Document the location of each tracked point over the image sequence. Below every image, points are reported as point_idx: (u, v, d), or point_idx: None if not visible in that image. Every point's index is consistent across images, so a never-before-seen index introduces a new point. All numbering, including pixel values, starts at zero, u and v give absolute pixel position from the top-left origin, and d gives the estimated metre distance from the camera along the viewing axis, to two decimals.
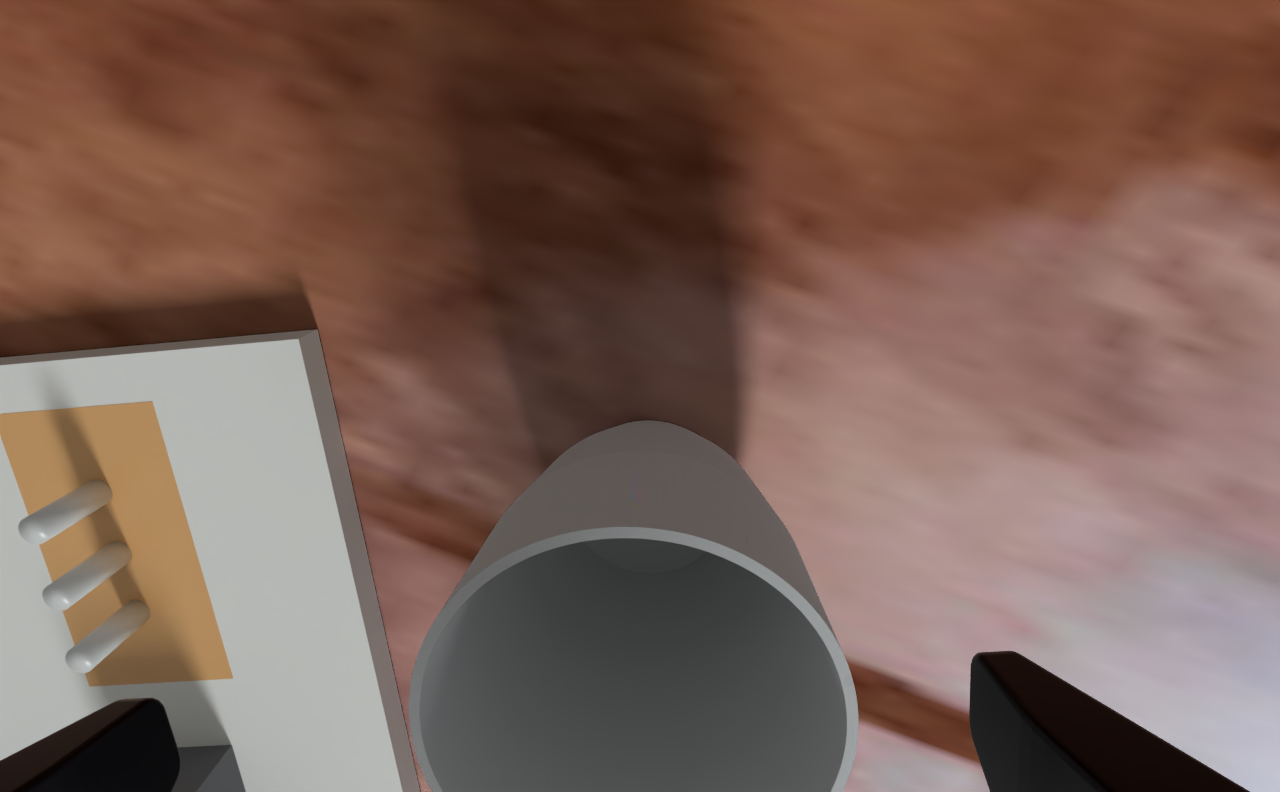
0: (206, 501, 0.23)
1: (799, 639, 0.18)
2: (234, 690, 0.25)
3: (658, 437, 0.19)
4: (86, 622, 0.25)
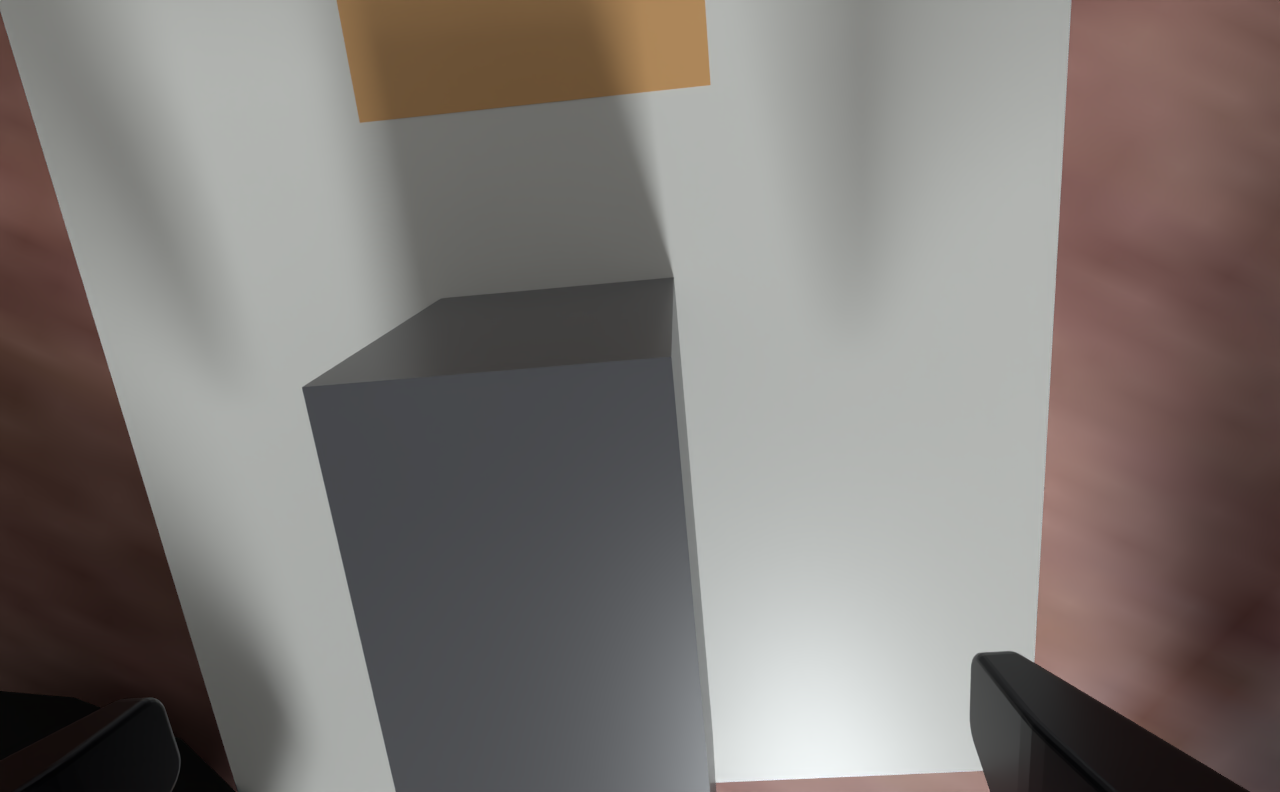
0: None
1: None
2: (707, 120, 0.11)
3: None
4: None
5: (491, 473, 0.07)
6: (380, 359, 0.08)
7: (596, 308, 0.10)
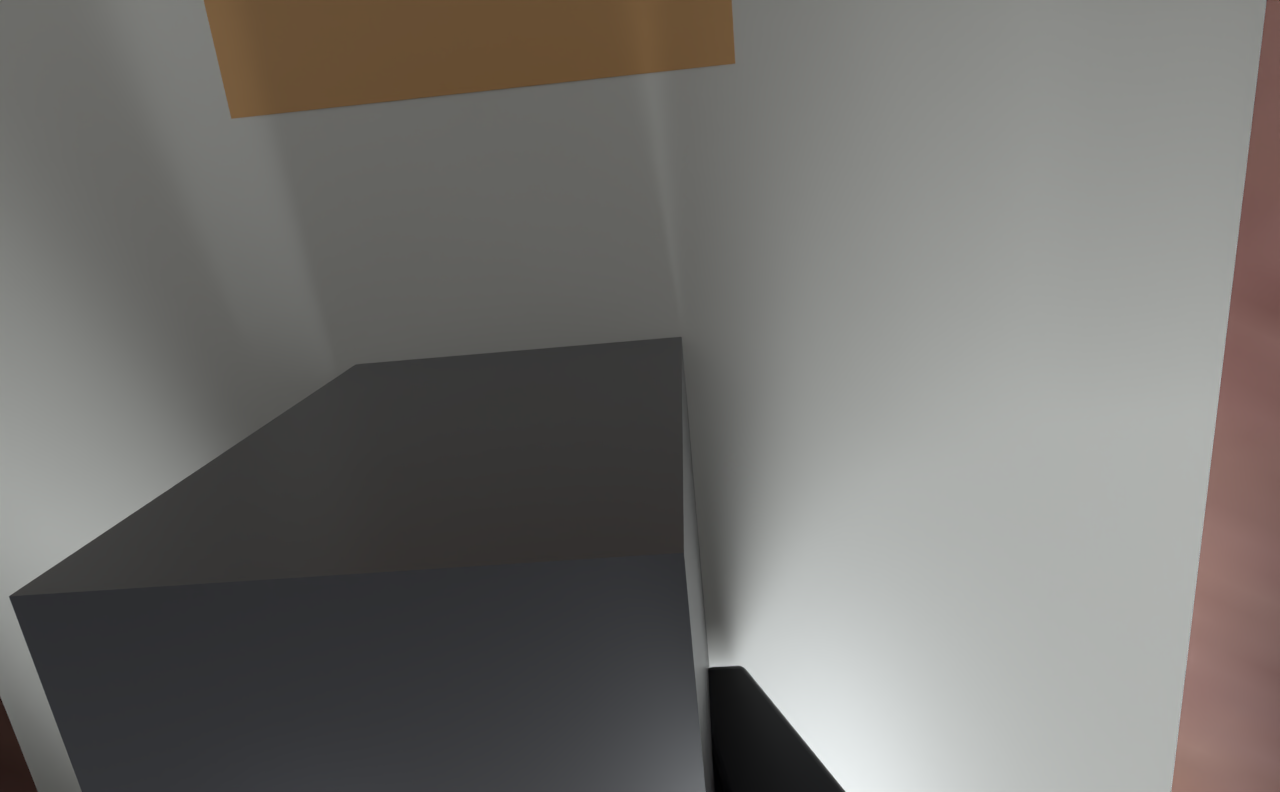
0: None
1: None
2: (730, 115, 0.07)
3: None
4: None
5: (359, 742, 0.04)
6: (189, 515, 0.05)
7: (565, 400, 0.06)
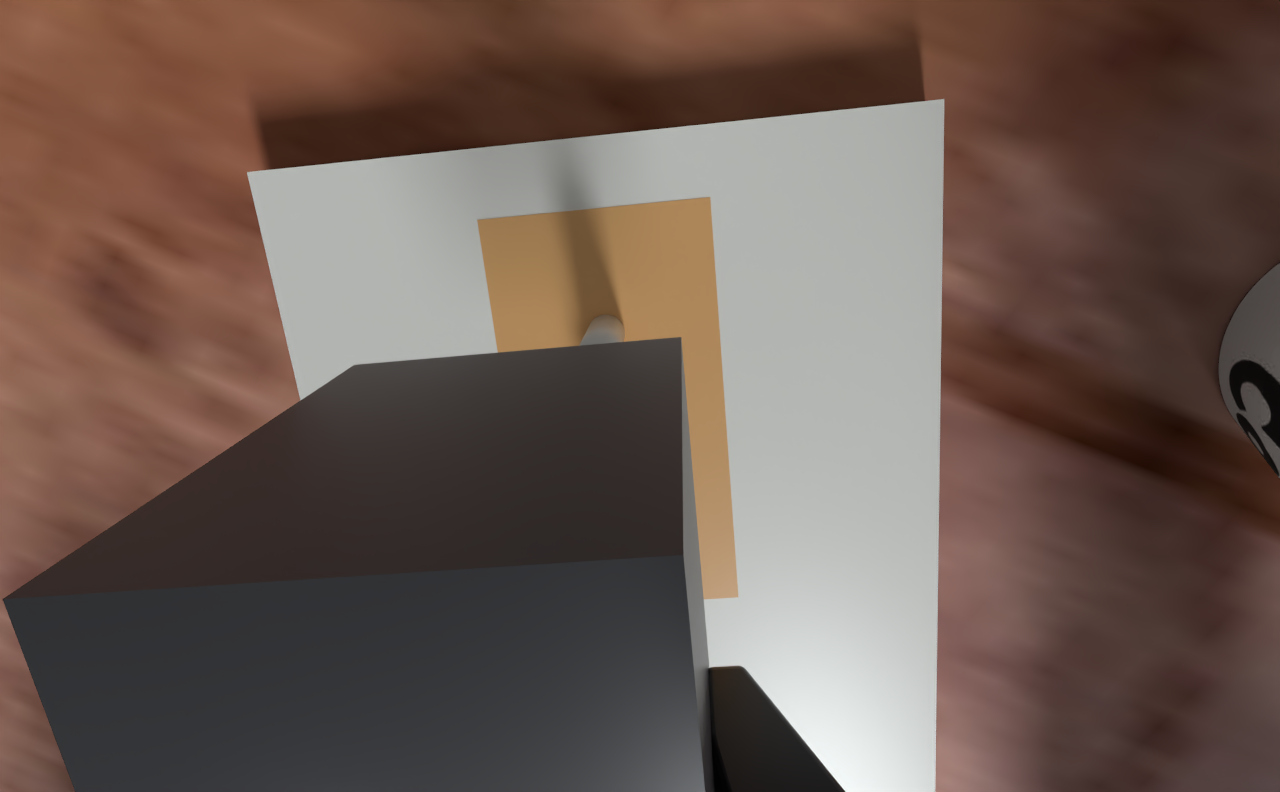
0: (756, 345, 0.17)
1: None
2: (736, 613, 0.19)
3: None
4: None
5: (357, 746, 0.04)
6: (186, 516, 0.05)
7: (564, 400, 0.06)
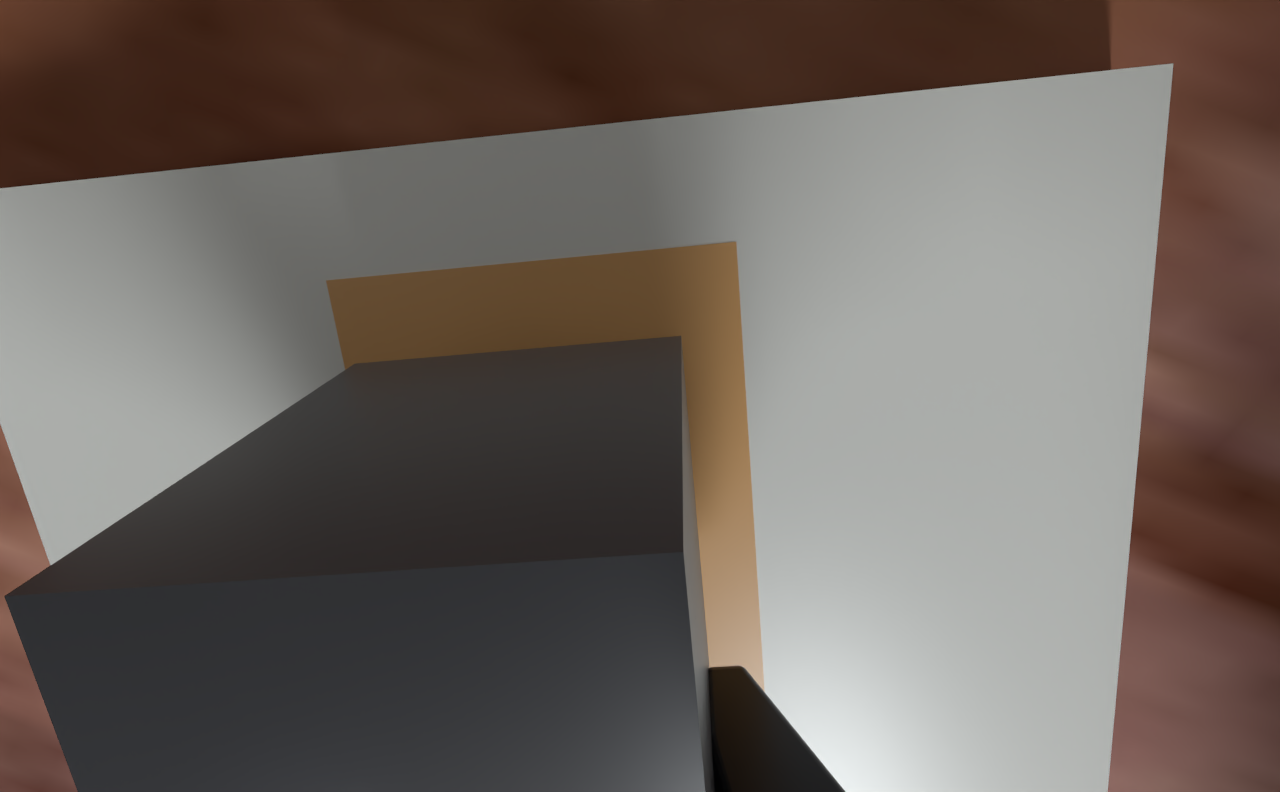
0: (812, 492, 0.10)
1: None
2: None
3: None
4: None
5: (358, 743, 0.04)
6: (187, 515, 0.05)
7: (564, 399, 0.06)
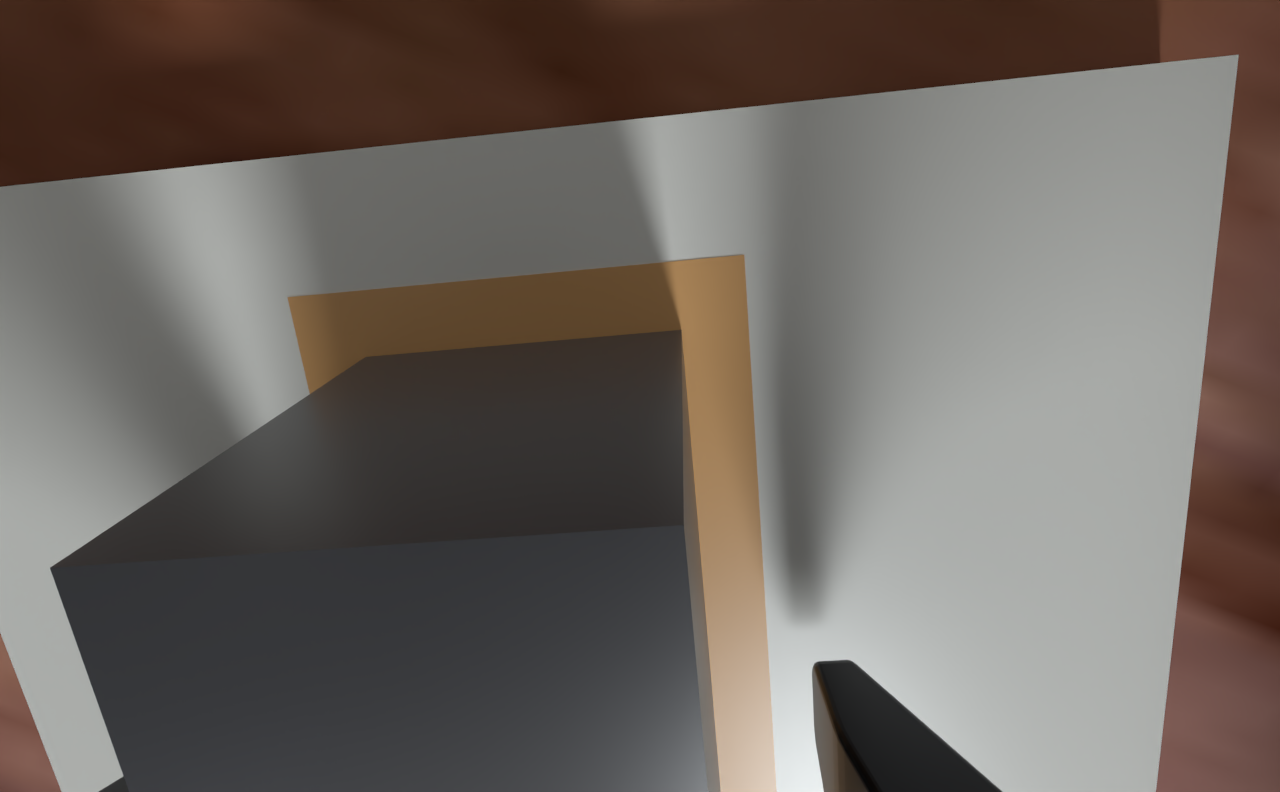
0: (828, 530, 0.09)
1: None
2: None
3: None
4: None
5: (379, 706, 0.04)
6: (215, 495, 0.05)
7: (569, 389, 0.07)
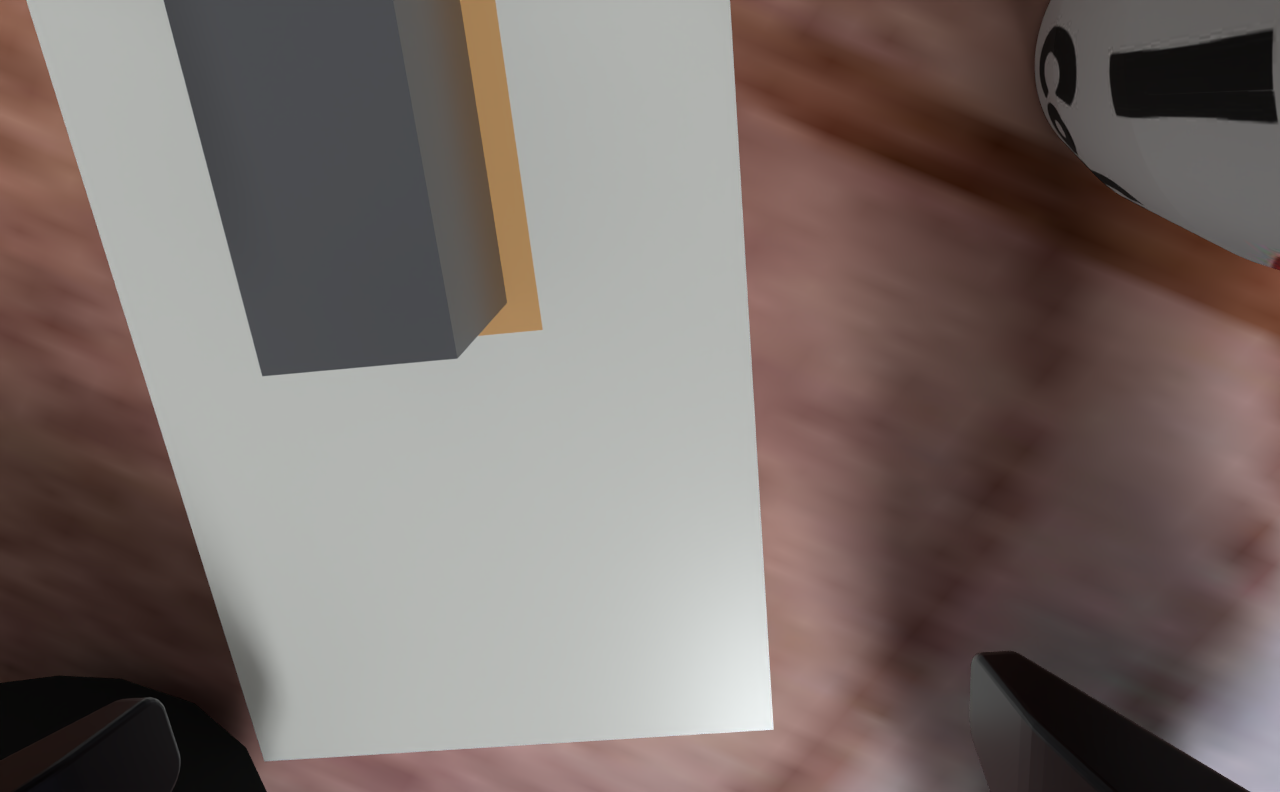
0: (537, 32, 0.16)
1: None
2: (542, 349, 0.18)
3: None
4: None
5: None
6: None
7: None
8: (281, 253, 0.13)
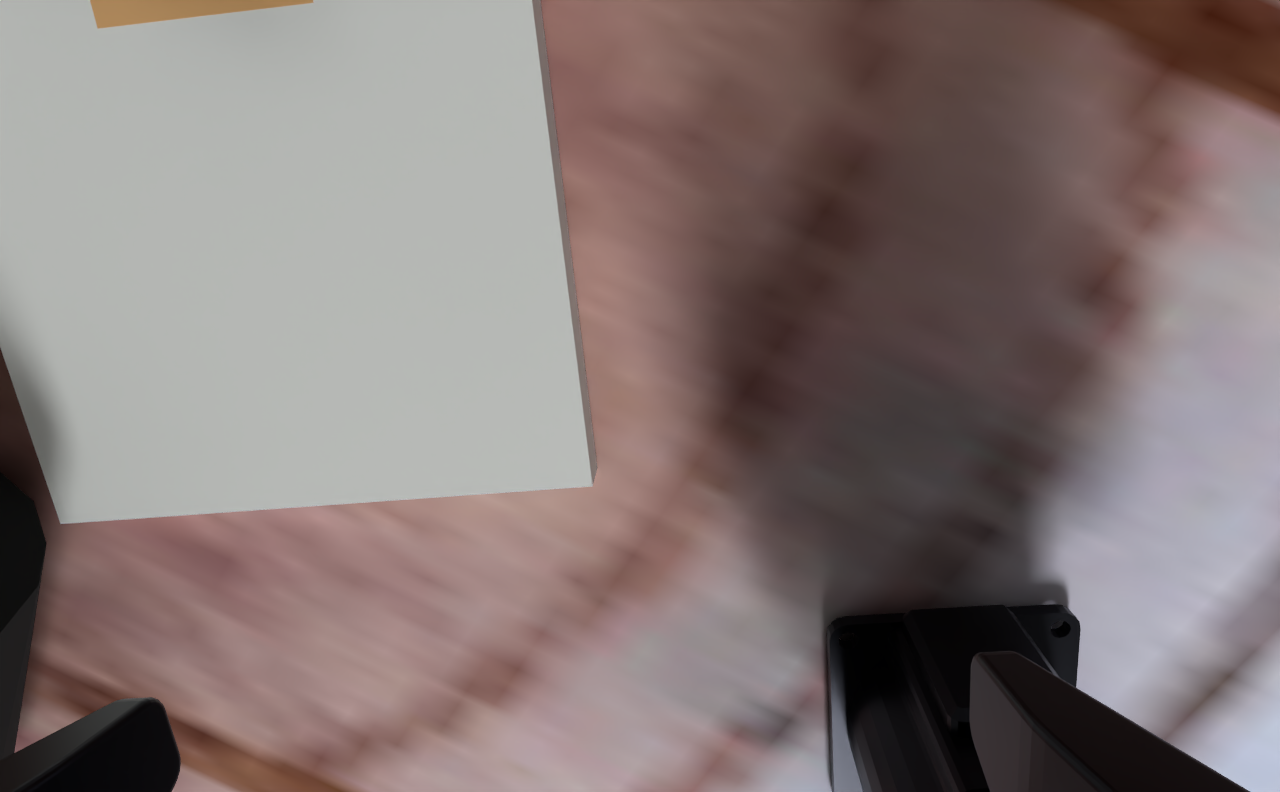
0: None
1: None
2: (314, 26, 0.17)
3: None
4: None
5: None
6: None
7: None
8: None
